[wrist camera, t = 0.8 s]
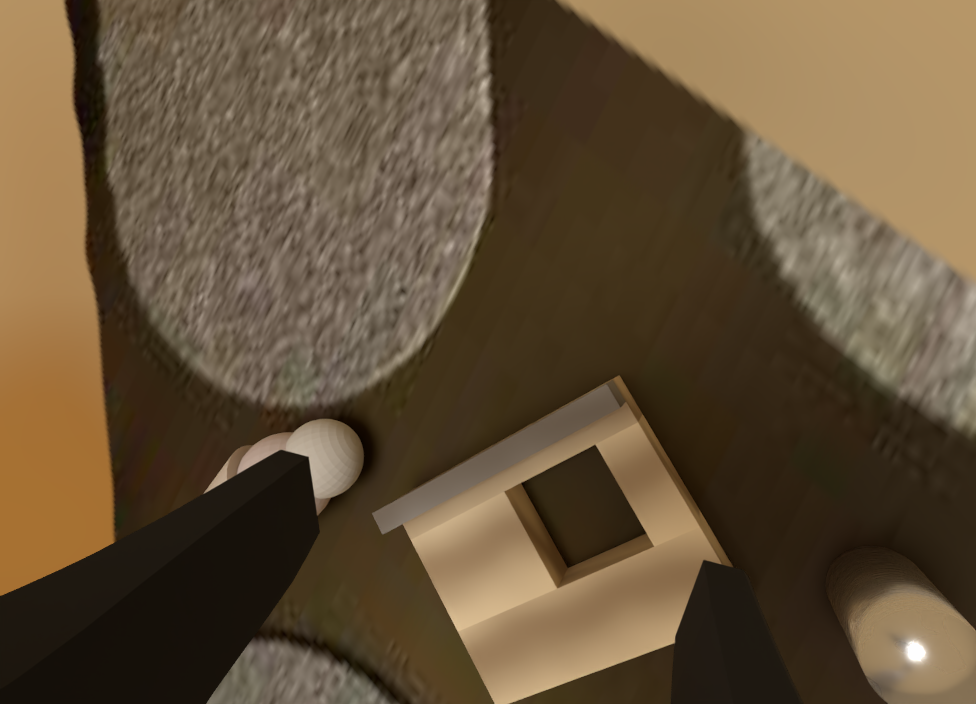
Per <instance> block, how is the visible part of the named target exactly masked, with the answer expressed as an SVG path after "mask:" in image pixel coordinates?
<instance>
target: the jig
mask: <svg viewBox="0 0 976 704" xmlns="http://www.w3.org/2000/svg"><path fill="white" fill-rule="evenodd" d="M595 444H596V446H597V448H598V450H599V451H600V453H601V455H602V457H603V458H604V460H605V462H606V463H607V465H608V467H609V469H610V470H611V472H612V474H613V476H614V477H615V479H616V481H617V483H618V484H619V486H620V488H621V490H622V491H623V493H624V495H625V496H626V498H627V500H628V502H629V503H630V505H631V507H632V509H633V510H634V512H635V514H636V516H637V517H638V519H639V521H640V523H641V524H642V526H643V528H644V529H645V531H646V534H644V535H642V536H639V537H637V538H635V539H633V540H630V541H628V542H626V543H623V544H621V545H619V546H617V547H614V548H612V549H610V550H608V551H605V552H603V553H601V554H599V555H596V556H594V557H592V558H590V559H587V560H585V561H583V562H581V563H578V564H576V565H574V566H572V567H569V568H567V566H566V564H565V562H564V560H563V559H562V557H561V555H560V553H559V551H558V550H557V548H556V546H555V544H554V542H553V540H552V539H551V537H550V535H549V533H548V531H547V530H546V528H545V526H544V524H543V522H542V520H541V519H540V517H539V515H538V513H537V511H536V510H535V508H534V506H533V504H532V502H531V500H530V499H529V497H528V495H527V493H526V491H525V490H524V488H523V486H522V484H521V483H522V482H524V481H526V480H528V479H530V478H531V477H533V476H535V475H537V474H539V473H541V472H543V471H545V470H547V469H549V468H551V467H553V466H555V465H557V464H559V463H560V462H562V461H564V460H566V459H568V458H570V457H572V456H574V455H576V454H578V453H580V452H582V451H584V450H586V449H588V448H589V447H591V446H593V445H595ZM372 515H373V517H374V519H375V521H376V522H377V524H378V526H379V528H380V530H381V532H382V534H385V533H386V532H388V531H390V530H392V529H394V528H396V527H398V526H400V525H402V524H403V526H404V527H405V529H406V531H407V533H408V535H409V537H410V539H411V541H412V543H413V545H414V547H415V549H416V551H417V553H418V555H419V557H420V559H421V561H422V563H423V565H424V566H425V568H426V570H427V572H428V574H429V576H430V578H431V580H432V582H433V584H434V586H435V588H436V590H437V592H438V594H439V596H440V598H441V600H442V602H443V604H444V606H445V607H446V609H447V611H448V613H449V615H450V617H451V619H452V621H453V623H454V625H455V627H456V629H457V631H458V633H459V635H460V637H461V639H462V641H463V643H464V645H465V646H466V648H467V650H468V652H469V654H470V656H471V658H472V660H473V662H474V664H475V666H476V668H477V670H478V672H479V674H480V676H481V678H482V680H483V682H484V684H485V685H486V687H487V689H488V691H489V693H490V695H491V697H492V699H493V701H494V703H495V704H509V703H512V702H515V701H517V700H520V699H523V698H526V697H528V696H531V695H534V694H536V693H539V692H542V691H545V690H547V689H550V688H553V687H556V686H558V685H561V684H564V683H566V682H569V681H572V680H575V679H577V678H580V677H583V676H586V675H588V674H591V673H594V672H596V671H599V670H602V669H605V668H607V667H610V666H613V665H616V664H618V663H621V662H624V661H627V660H629V659H632V658H635V657H637V656H640V655H643V654H646V653H648V652H651V651H654V650H657V649H659V648H662V647H665V646H667V645H670V644H673V643H675V635H676V633H677V630H678V627H679V624H680V622H681V619H682V616H683V614H684V611H685V608H686V605H687V603H688V600H689V597H690V595H691V592H692V589H693V587H694V584H695V581H696V578H697V576H698V573H699V570H700V568H701V565H702V562H703V560H707V561H711V562H714V563H718V564H722V565H726V566H730V567H733V566H732V564H731V562H730V560H729V559H728V557H727V555H726V554H725V552H724V550H723V549H722V547H721V545H720V544H719V542H718V540H717V539H716V537H715V535H714V534H713V532H712V530H711V528H710V527H709V525H708V523H707V522H706V520H705V518H704V517H703V515H702V513H701V512H700V510H699V508H698V507H697V505H696V503H695V502H694V500H693V498H692V496H691V495H690V493H689V491H688V490H687V488H686V486H685V485H684V483H683V481H682V480H681V478H680V476H679V475H678V473H677V471H676V469H675V468H674V466H673V464H672V463H671V461H670V459H669V458H668V456H667V454H666V453H665V451H664V449H663V448H662V446H661V444H660V443H659V441H658V439H657V437H656V436H655V434H654V432H653V431H652V429H651V427H650V426H649V424H648V422H647V421H646V419H645V417H644V416H643V414H642V412H641V411H640V409H639V407H638V405H637V404H636V402H635V400H634V399H633V397H632V395H631V394H630V392H629V390H628V389H627V387H626V385H625V384H624V382H623V380H622V379H621V377H620V375H618V376H617V377H615V378H613V379H611V380H609V381H608V382H606V383H604V384H602V385H600V386H599V387H597V388H595V389H593V390H591V391H590V392H588V393H586V394H584V395H582V396H581V397H579V398H577V399H575V400H573V401H572V402H570V403H568V404H566V405H564V406H563V407H561V408H559V409H557V410H555V411H554V412H552V413H550V414H548V415H546V416H545V417H543V418H541V419H539V420H537V421H536V422H534V423H532V424H530V425H528V426H527V427H525V428H523V429H521V430H519V431H517V432H516V433H514V434H512V435H510V436H508V437H507V438H505V439H503V440H501V441H499V442H498V443H496V444H494V445H492V446H490V447H489V448H487V449H485V450H483V451H481V452H480V453H478V454H476V455H474V456H472V457H471V458H469V459H467V460H465V461H463V462H462V463H460V464H458V465H456V466H454V467H453V468H451V469H449V470H447V471H445V472H444V473H442V474H440V475H438V476H436V477H435V478H433V479H431V480H429V481H427V482H426V483H424V484H422V485H420V486H418V487H417V488H415V489H413V490H411V491H410V492H408V493H406V494H404V495H403V496H401V497H399V498H398V499H396V500H394V501H393V502H391V503H389V504H387V505H386V506H384V507H382V508H381V509H379V510H377V511H376V512H374V513H372Z"/></svg>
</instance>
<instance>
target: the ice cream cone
mask: <svg viewBox="0 0 976 704" xmlns="http://www.w3.org/2000/svg"><path fill="white" fill-rule="evenodd" d="M279 450H285V451H289V452H292V453H296V454H300V455H304V456H308V457H309V462H310V469H311V476H312V483H313V490H314V496H315V503H316V510H317V516H318V515H319V514H320V512H321V511H322V510H323V509H324V508H325V507H326V505H327V504H328V502H329V500H330V498H331V497H334V496H337V495H339V494H341V493H343V492H345V491H346V490H347V489H349V488H350V487H351V486H352V485H353V483H354V482H355V481H356V480H357V478H358V477H359V475H360V473H361V470H362V467H363V462H364V451H363V447H362V443H361V441H360V439H359V437H358V435H357V434H356V433H355V432H354V431H353V430H352V429H351V428H350V427H349V426H348V425H346V424H344V423H342V422H340V421H337V420H332V419H318V420H314V421H310V422H308V423H306V424H304V425H302V426H301V427H299V428H298V429H297V430H295V432H294V433H293V432H284V433H279V434H274V435H270V436H268V437H266V438H264V439H262V440H260V441H259V442H257V443H256V444H255V445H253V446H250V445H248V446H243V447H241V448H239V449H237V450H236V451H235V452H234V453H233V454H232V455H231V457H230V458H229V460H228V461H227V462H226V464H225V465H224V466H223V468H222V469H221V471H220V472H219V473H218V475H217V476H216V477H215V479H214V480H213V482H212V483H211V484H210V486H209V487H208V488H207V490H206V491H205V493H206V492H208V491H210V490H211V489H213V488H215V487H216V486H218V485H220V484H222V483H223V482H225V481H227V480H228V479H230V478H232V477H233V476H235V475H237V474H239V473H240V472H242V471H244V470H245V469H247V468H249V467H251V466H252V465H254V464H256V463H257V462H259V461H261V460H263V459H264V458H266V457H268V456H270V455H272V454H273V453H275V452H277V451H279Z"/></svg>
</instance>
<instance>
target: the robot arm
mask: <svg viewBox="0 0 976 704" xmlns="http://www.w3.org/2000/svg"><path fill="white" fill-rule="evenodd" d="M319 532H320V531H319V524H318V517H317V510H316V503H315V496H314V490H313V483H312V476H311V469H310V462H309V457H308V456H304V455H300V454H296V453H292V452H289V451H285V450H279V451H277V452H275V453H273V454H272V455H270V456H268V457H266V458H264V459H263V460H261V461H259V462H257V463H256V464H254V465H252V466H251V467H249V468H247V469H245V470H244V471H242V472H240V473H239V474H237V475H235V476H233V477H232V478H230V479H228V480H227V481H225V482H223V483H222V484H220V485H218V486H216V487H215V488H213V489H211V490H210V491H208V492H206V493H204V494H203V495H201V496H199V497H197V498H196V499H194V500H192V501H190V502H189V503H187V504H185V505H183V506H182V507H180V508H178V509H176V510H175V511H173V512H171V513H169V514H168V515H166V516H164V517H162V518H160V519H158V520H157V521H155V522H153V523H151V524H149V525H147V526H145V527H143V528H141V529H139V530H138V531H136V532H134V533H132V534H130V535H128V536H126V537H124V538H122V539H121V540H119V541H117V542H115V543H113V544H111V545H109V546H107V547H105V548H103V549H102V550H100V551H98V552H96V553H94V554H92V555H90V556H88V557H86V558H84V559H82V560H79V561H78V562H75V563H73V564H71V565H69V566H67V567H65V568H63V569H61V570H58V571H56V572H54V573H52V574H50V575H47V576H45V577H43V578H41V579H38V580H36V581H34V582H32V583H30V584H27V585H25V586H23V587H21V588H19V589H16V590H14V591H11V592H9V593H7V594H4V595H2V596H0V704H206V703H207V701H208V700H209V698H210V697H211V695H212V694H213V692H214V691H215V690H216V688H217V687H218V685H219V684H220V683H221V681H222V680H223V678H224V677H225V676H226V674H227V673H228V671H229V670H230V669H231V667H232V666H233V665H234V663H235V662H236V660H237V659H238V658H239V656H240V655H241V653H242V652H243V651H244V649H245V648H246V646H247V645H248V644H249V642H250V641H251V639H252V638H253V637H254V635H255V634H256V633H257V631H258V630H259V628H260V627H261V626H262V624H263V623H264V621H265V620H266V619H267V617H268V616H269V614H270V613H271V612H272V610H273V609H274V607H275V606H276V605H277V603H278V602H279V600H280V599H281V597H282V596H283V595H284V593H285V592H286V590H287V589H288V587H289V586H290V584H291V583H292V582H293V580H294V578H295V576H296V575H297V573H298V571H299V569H300V568H301V566H302V564H303V562H304V561H305V559H306V557H307V555H308V553H309V551H310V549H311V548H312V546H313V544H314V542H315V540H316V538H317V536H318V534H319ZM671 704H803V702H802V700H801V698H800V696H799V693H798V691H797V689H796V687H795V685H794V683H793V681H792V679H791V677H790V674H789V672H788V670H787V668H786V666H785V664H784V661H783V659H782V657H781V655H780V652H779V650H778V648H777V645H776V643H775V641H774V639H773V636H772V634H771V632H770V629H769V627H768V625H767V622H766V620H765V617H764V615H763V613H762V610H761V608H760V605H759V603H758V600H757V598H756V595H755V593H754V590H753V588H752V585H751V582H750V580H749V577H748V576H747V574H746V573H745V571H744V570H741V569H737V568H734V567H730V566H726V565H722V564H718V563H714V562H711V561H707V560H703V562H702V565H701V568H700V570H699V573H698V576H697V578H696V581H695V584H694V587H693V589H692V592H691V595H690V597H689V600H688V603H687V605H686V608H685V611H684V614H683V616H682V619H681V622H680V624H679V627H678V630H677V633H676V635H675V646H674V660H673V674H672V691H671Z"/></svg>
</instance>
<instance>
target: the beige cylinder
mask: <svg viewBox="0 0 976 704" xmlns="http://www.w3.org/2000/svg"><path fill="white" fill-rule="evenodd" d="M825 587H826V593H827V596H828V599H829V601H830V603H831V605H832V607H833V610H834V612H835V614H836V616H837V618H838V620H839V622H840V624H841V626H842V628H843V630H844V632H845V634H846V636H847V638H848V641H849V643H850V645H851V647H852V649H853V651H854V653H855V655H856V657H857V659H858V661H859V663H860V665H861V667H862V669H863V671H864V674H865V676H866V678H867V679H868V681H869V683H870V685H871V686H872V687H873V689H874V690H875V691H876V692H877V694H878V695H879V696H880V697H881V698H882V699H883V700H885V701H886V702H887V703H888V704H976V630H975V629H974V628H973V627H972V626H971V625H970V624H969V623H968V622H967V621H966V619H965V618H964V617H963V616H962V615H961V614H960V613H959V612H958V611H957V610H956V609H955V607H954V606H953V605H952V604H951V603H950V602H949V601H948V600H947V599H946V598H945V596H944V595H943V594H942V593H941V592H940V591H939V590H938V589H937V588H936V587H935V586H934V584H933V583H932V582H931V581H930V580H929V579H928V578H927V577H926V576H925V575H924V573H923V572H922V571H921V570H920V569H919V568H918V567H917V566H916V565H915V564H914V563H913V562H912V561H911V560H910V559H908V558H907V557H905V556H904V555H902V554H900V553H898V552H896V551H893V550H891V549H887V548H884V547H878V546H863V547H857V548H854V549H851V550H848V551H846V552H844V553H843V554H841V555H840V556H839V557H837V558H836V559H835V560H834V561H833V563H832V564H831V566H830V567H829V569H828V572H827V575H826V581H825Z"/></svg>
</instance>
